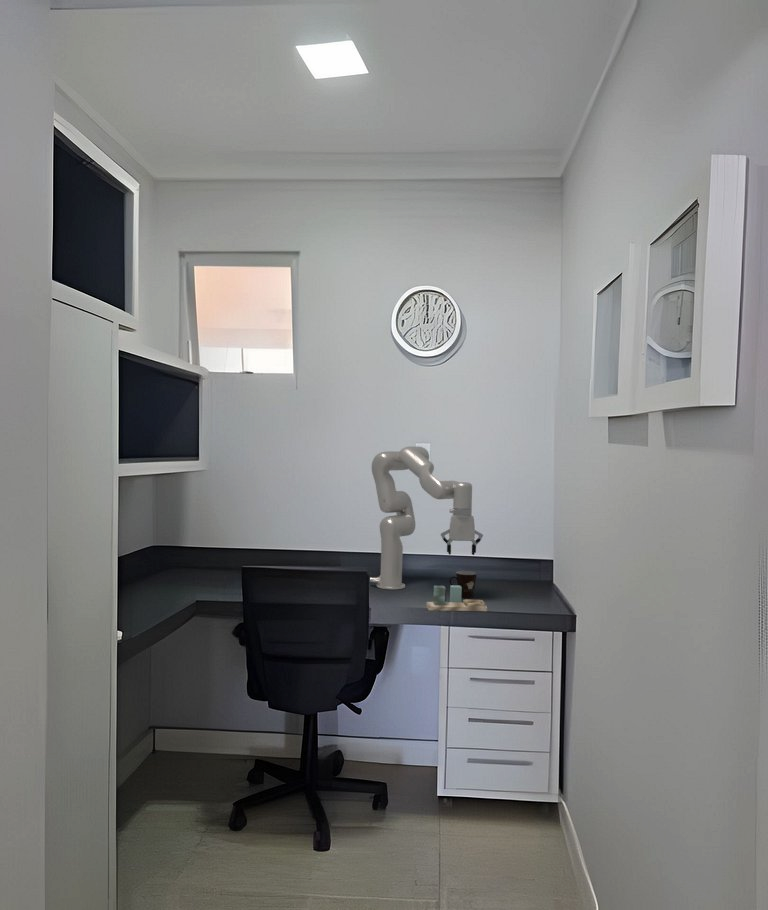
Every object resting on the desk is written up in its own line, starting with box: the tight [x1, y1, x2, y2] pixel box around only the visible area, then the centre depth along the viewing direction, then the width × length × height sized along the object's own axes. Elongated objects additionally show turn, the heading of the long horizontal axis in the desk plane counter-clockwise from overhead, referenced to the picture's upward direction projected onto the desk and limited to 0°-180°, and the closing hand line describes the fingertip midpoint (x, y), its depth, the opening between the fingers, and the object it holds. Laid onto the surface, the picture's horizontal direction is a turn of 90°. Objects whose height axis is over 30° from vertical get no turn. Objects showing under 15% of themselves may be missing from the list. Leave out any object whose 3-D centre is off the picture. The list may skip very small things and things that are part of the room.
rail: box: [425, 585, 488, 612], centre depth 318 cm, size 23×8×8 cm, turn 94°
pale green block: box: [449, 584, 462, 603], centre depth 327 cm, size 5×4×7 cm
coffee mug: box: [449, 570, 477, 599], centre depth 341 cm, size 12×9×10 cm
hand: (461, 554), depth 329 cm, fingers open, 9 cm apart
